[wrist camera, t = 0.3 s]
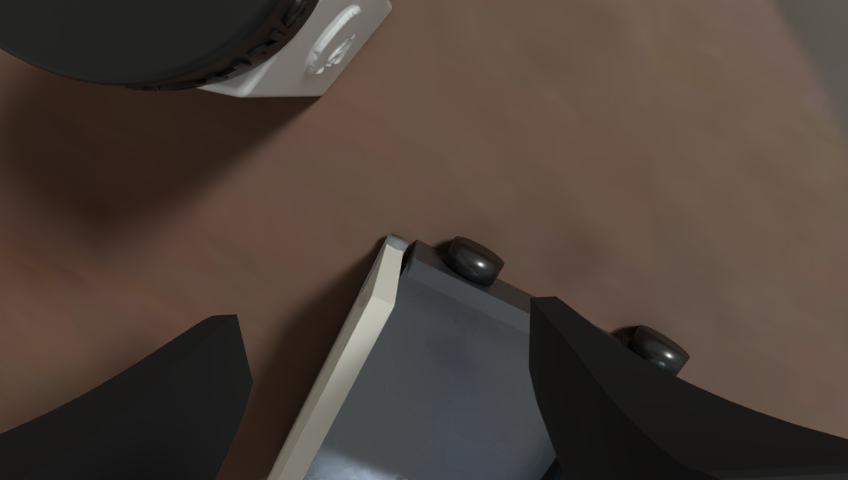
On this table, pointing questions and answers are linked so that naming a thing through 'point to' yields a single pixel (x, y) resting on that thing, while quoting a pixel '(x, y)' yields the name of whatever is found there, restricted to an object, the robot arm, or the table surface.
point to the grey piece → (453, 380)
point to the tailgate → (342, 363)
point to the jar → (193, 42)
